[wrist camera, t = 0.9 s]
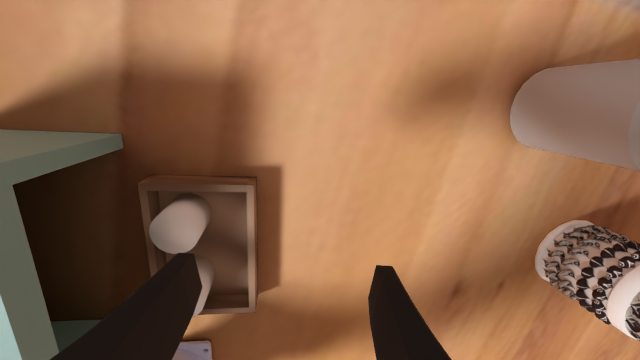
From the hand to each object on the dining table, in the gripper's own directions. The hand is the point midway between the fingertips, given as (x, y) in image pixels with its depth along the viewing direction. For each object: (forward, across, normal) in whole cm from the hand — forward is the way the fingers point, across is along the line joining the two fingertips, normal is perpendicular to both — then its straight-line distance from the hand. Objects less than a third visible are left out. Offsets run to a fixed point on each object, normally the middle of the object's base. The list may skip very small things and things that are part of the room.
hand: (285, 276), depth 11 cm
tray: (+12, +9, +10) cm, 18 cm away
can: (+20, -22, -2) cm, 30 cm away
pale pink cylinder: (+12, +10, +7) cm, 17 cm away
